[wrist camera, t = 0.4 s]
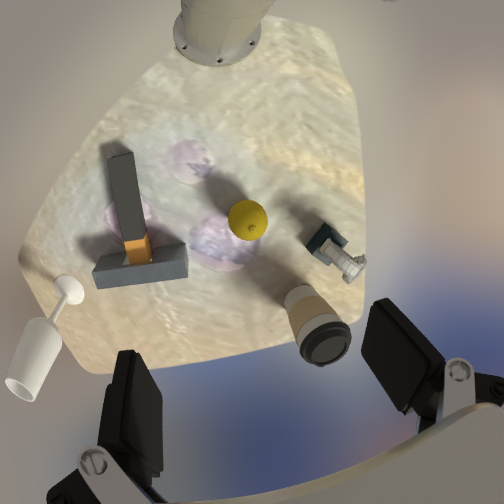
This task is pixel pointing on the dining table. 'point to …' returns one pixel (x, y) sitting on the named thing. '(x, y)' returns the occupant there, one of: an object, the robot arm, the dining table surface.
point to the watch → (336, 253)
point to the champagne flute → (41, 344)
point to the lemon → (247, 220)
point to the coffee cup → (316, 326)
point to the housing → (141, 268)
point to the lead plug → (129, 207)
